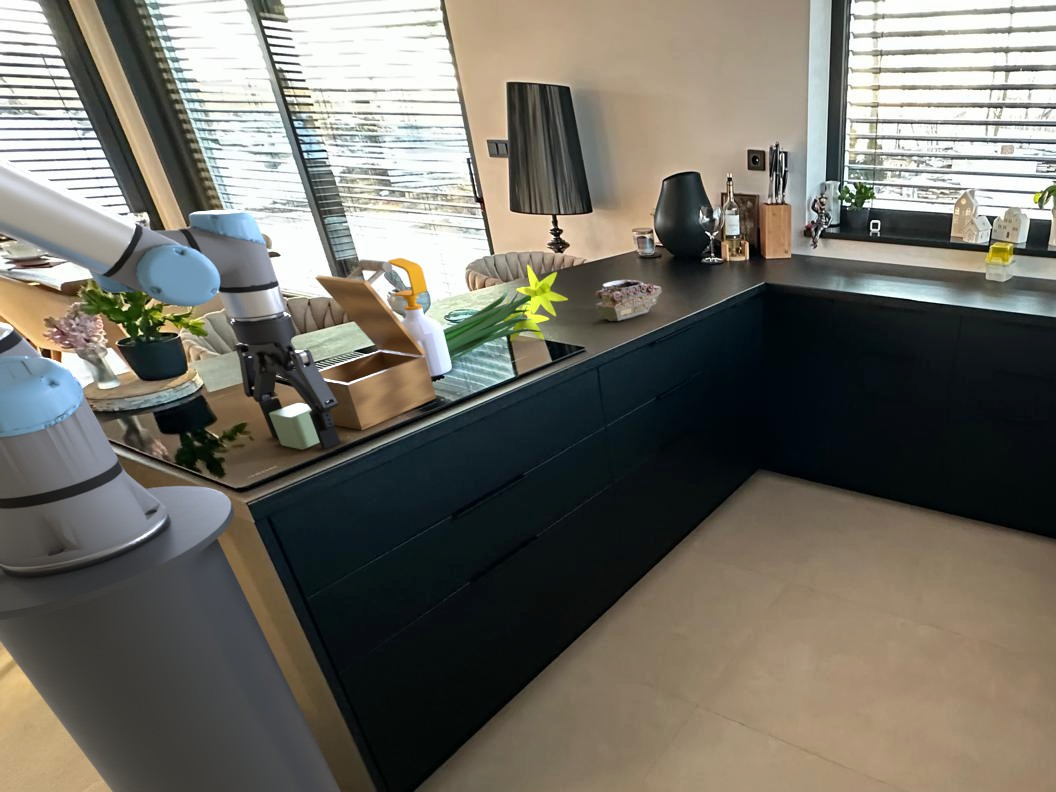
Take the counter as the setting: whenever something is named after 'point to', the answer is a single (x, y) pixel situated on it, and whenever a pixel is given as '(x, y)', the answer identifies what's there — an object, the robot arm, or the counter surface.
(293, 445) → the block
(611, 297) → the decorative box
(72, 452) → the robot arm
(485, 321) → the daffodil flowers
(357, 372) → the chest
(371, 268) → the lid
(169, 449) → the counter surface
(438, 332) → the soap bottle
